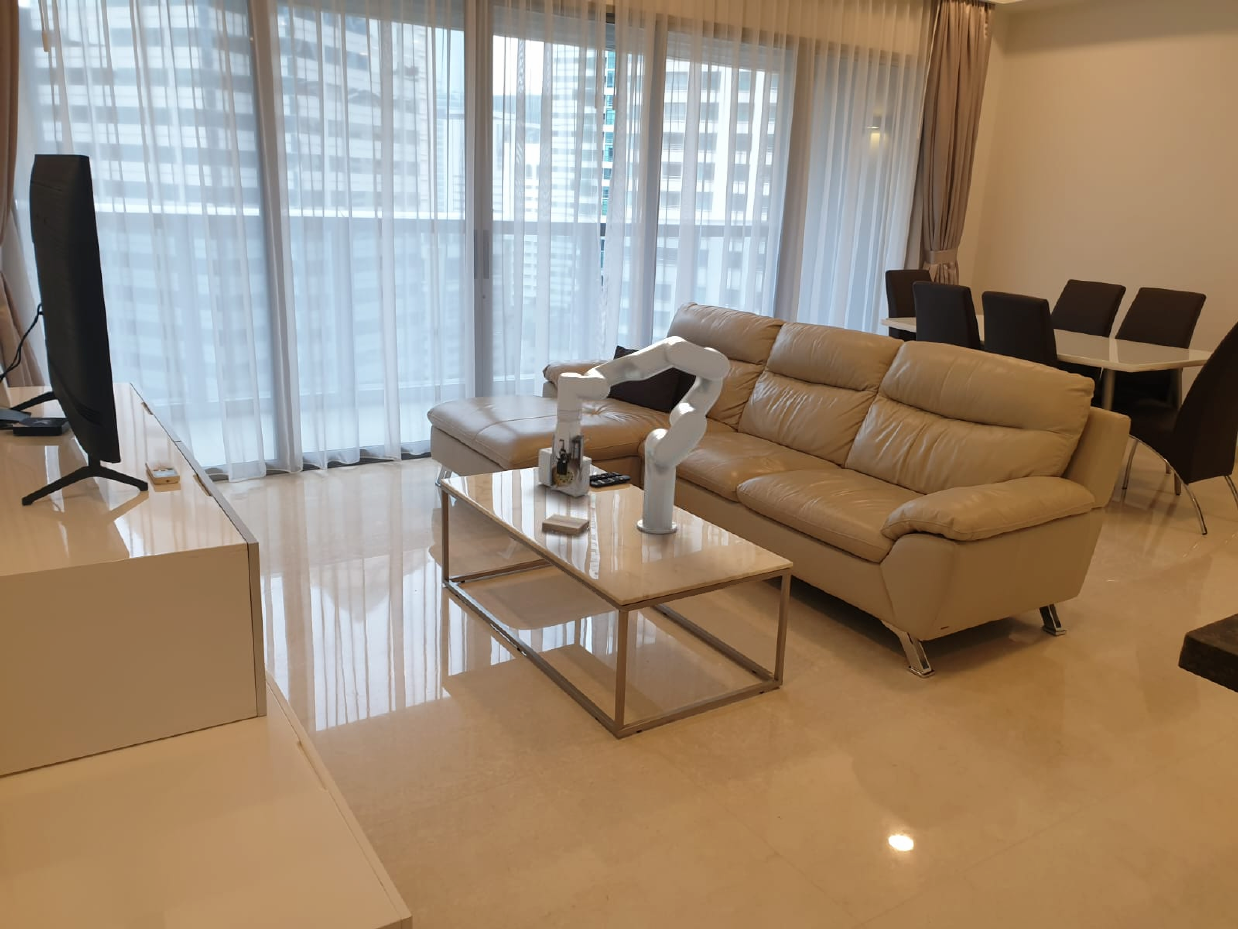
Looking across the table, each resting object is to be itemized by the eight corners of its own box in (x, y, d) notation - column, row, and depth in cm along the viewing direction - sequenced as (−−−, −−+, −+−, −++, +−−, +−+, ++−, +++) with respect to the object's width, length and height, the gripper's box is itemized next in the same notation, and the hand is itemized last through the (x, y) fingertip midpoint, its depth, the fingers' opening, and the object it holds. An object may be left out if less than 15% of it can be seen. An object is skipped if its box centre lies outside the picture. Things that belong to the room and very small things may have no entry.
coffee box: (582, 486, 279) (584, 435, 275) (579, 492, 273) (581, 440, 269) (553, 483, 280) (555, 433, 276) (549, 489, 274) (551, 437, 269)
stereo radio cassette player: (536, 484, 324) (538, 430, 319) (554, 480, 330) (556, 427, 324) (573, 499, 310) (576, 442, 304) (592, 495, 315) (594, 439, 310)
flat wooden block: (554, 521, 286) (554, 514, 285) (589, 527, 282) (589, 520, 282) (541, 530, 278) (542, 522, 277) (577, 536, 274) (578, 528, 273)
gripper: (569, 407, 279) (567, 463, 284) (545, 418, 264) (543, 476, 268) (592, 410, 277) (589, 466, 282) (569, 421, 261) (567, 480, 266)
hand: (567, 470), depth 275 cm, fingers closed on coffee box, 7 cm apart
